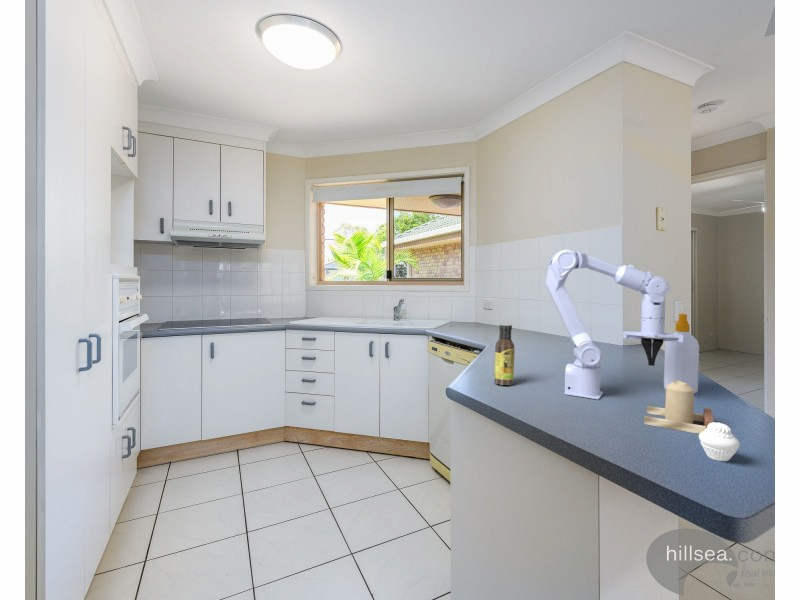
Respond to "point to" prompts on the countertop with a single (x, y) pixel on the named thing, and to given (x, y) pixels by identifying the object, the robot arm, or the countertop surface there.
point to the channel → (676, 425)
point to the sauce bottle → (504, 357)
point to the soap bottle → (682, 357)
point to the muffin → (718, 441)
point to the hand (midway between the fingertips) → (651, 365)
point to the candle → (679, 402)
